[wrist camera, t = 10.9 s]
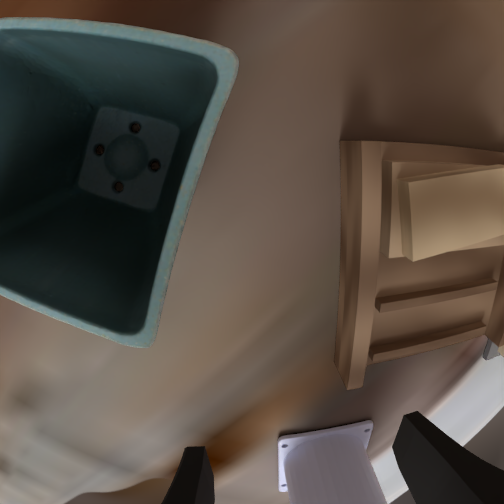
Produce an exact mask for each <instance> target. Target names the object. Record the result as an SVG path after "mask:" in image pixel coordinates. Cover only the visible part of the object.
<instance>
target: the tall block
mask: <svg viewBox="0 0 504 504" xmlns="http://www.w3.org/2000/svg"><path fill="white" fill-rule="evenodd" d="M498 352H499V353H500V354H501V355H502V356H503V357H504V345H503V346H501V347H499V348H498Z"/></svg>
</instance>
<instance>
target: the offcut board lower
mask: <svg viewBox="0 0 504 504" xmlns="http://www.w3.org/2000/svg"><path fill="white" fill-rule="evenodd" d="M482 166H485V165H474V164H460V163H445V162H426V161H396V160H382V197H381V230H380V249H379V251H380V252H381V253H383V254H384V255H385V256H386V257H388V258H396V257H405V256H404V255H403V254H402V243H401V225H400V211H399V199H398V189H397V179H402V178H408V177H414V176H420V175H427V174H433V173H440V172H446V171H453V170H460V169H467V168H474V167H482ZM499 245H504V235H501V236H498V237H495V238H491V239H488V240H485V241H482V242H479V243H475V244H472V245H469V246H465V247H462V248H459V249H455V250H452V251H458V250H467V249H475V248H483V247H491V246H499ZM449 252H450V251H449Z"/></svg>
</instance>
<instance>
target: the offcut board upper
mask: <svg viewBox="0 0 504 504" xmlns="http://www.w3.org/2000/svg"><path fill="white" fill-rule="evenodd" d="M397 189H398V199H399V211H400V225H401V243H402V254H403V255H404V256H406V257H407V258H408V259H410V260H411V261H413V262H414V261H417V260H421V259H424V258H428V257H431V256H435V255H438V254H442V253H445V252H449V251H452V250H455V249H459V248H462V247H465V246H469V245H472V244H475V243H479V242H482V241H485V240H488V239H491V238H495V237H498V236H501V235H504V165H501V164H497V165H489V166H482V167H474V168H467V169H460V170H453V171H446V172H440V173H433V174H427V175H420V176H414V177H408V178H402V179H397Z"/></svg>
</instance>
